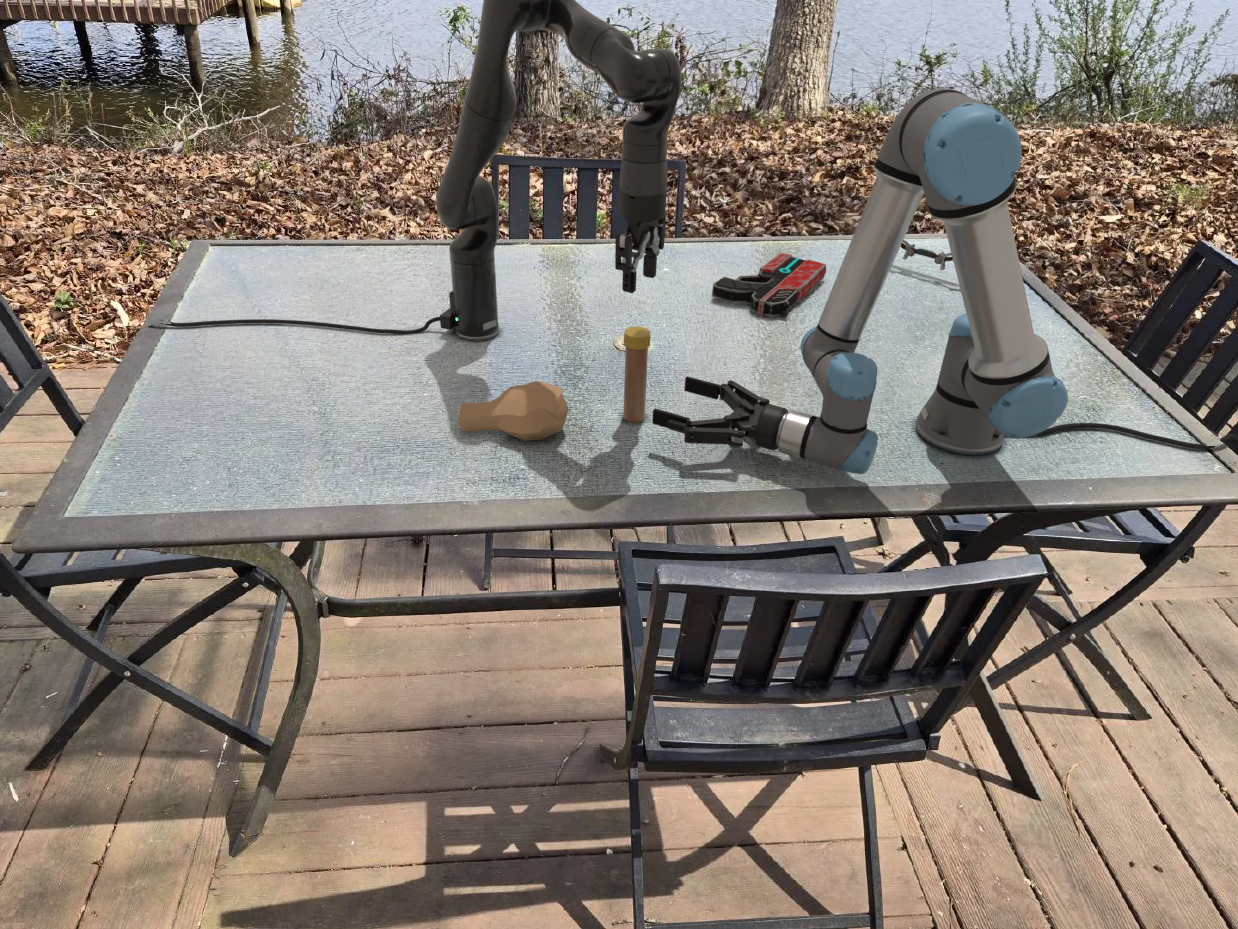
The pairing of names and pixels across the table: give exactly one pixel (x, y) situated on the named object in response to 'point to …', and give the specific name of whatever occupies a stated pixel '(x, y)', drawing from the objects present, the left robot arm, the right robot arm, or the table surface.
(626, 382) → the jar
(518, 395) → the squash
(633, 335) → the lid
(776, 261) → the gun
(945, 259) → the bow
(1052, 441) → the table surface
